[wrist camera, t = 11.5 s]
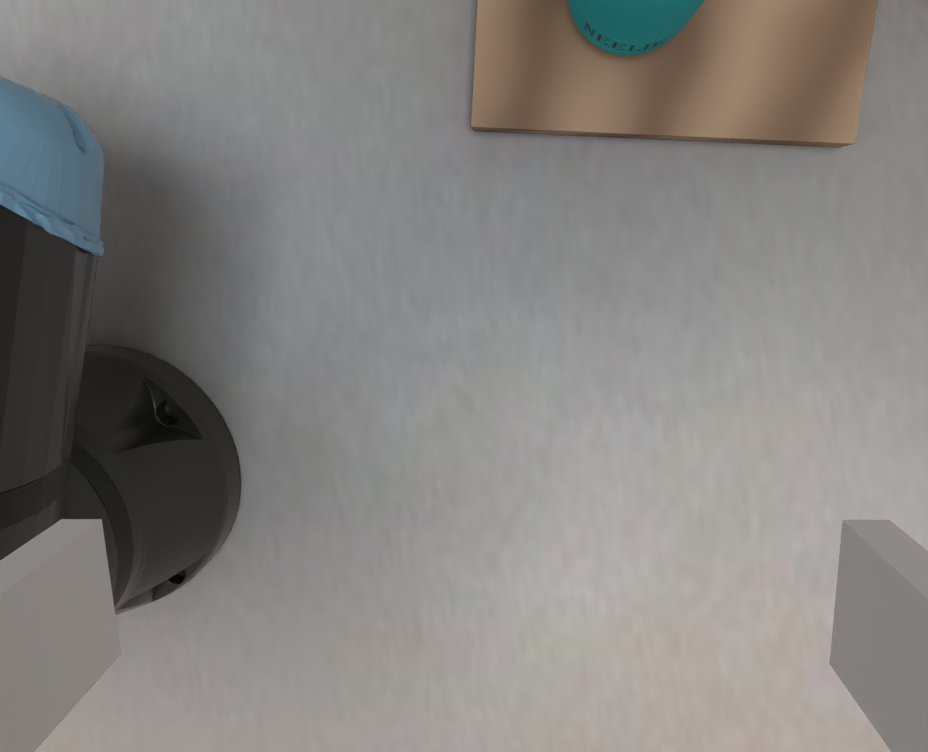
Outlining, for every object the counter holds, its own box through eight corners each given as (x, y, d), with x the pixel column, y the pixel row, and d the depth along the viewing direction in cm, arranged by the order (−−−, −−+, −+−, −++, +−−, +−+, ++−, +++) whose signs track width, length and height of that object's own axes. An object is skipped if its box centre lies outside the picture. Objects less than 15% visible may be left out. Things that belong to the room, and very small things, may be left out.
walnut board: (474, 130, 37) (471, 126, 36) (487, -134, 35) (485, -153, 33) (839, 147, 36) (854, 143, 34) (882, -128, 33) (901, -147, 32)
